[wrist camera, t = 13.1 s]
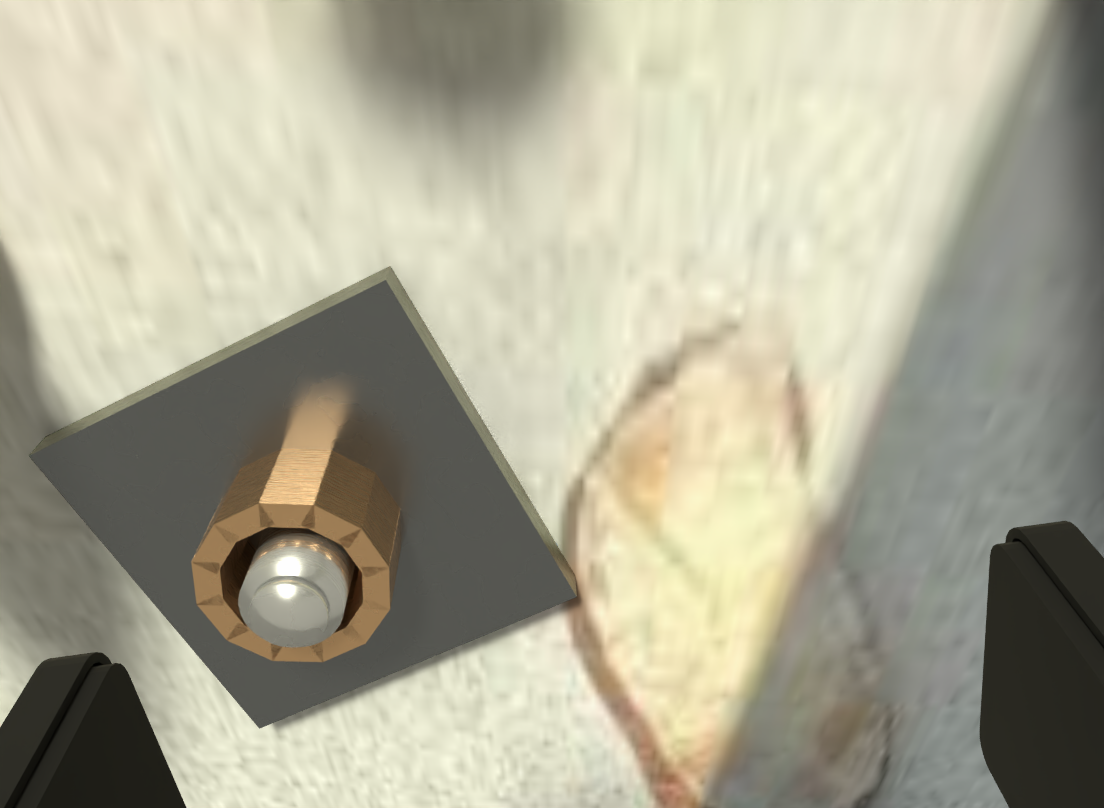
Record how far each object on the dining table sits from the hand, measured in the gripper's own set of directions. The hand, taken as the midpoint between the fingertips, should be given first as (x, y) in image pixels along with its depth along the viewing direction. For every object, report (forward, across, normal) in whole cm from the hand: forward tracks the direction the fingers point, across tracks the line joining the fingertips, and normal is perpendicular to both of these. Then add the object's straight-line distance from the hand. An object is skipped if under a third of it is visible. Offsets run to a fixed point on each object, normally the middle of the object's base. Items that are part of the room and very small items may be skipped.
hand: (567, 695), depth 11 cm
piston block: (+28, +11, +14) cm, 34 cm away
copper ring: (+27, +11, +14) cm, 32 cm away
